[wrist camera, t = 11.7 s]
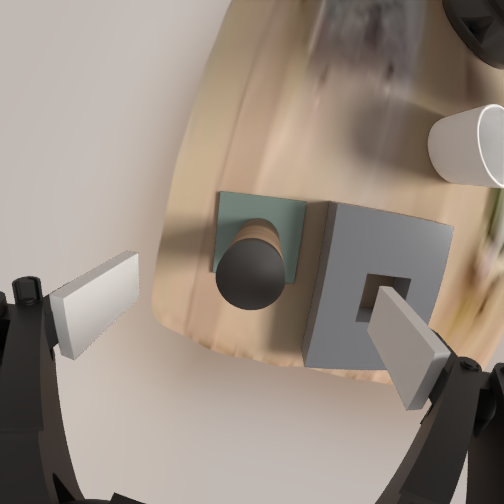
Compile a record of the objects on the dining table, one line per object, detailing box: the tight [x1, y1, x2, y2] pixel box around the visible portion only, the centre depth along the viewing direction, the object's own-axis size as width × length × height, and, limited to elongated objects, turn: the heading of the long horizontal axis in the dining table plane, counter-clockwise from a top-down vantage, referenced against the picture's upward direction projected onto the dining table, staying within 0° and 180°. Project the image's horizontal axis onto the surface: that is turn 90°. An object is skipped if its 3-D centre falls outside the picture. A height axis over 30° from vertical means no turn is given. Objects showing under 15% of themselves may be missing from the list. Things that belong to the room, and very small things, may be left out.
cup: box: [428, 104, 504, 189], centre depth 22 cm, size 8×12×10 cm
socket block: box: [301, 201, 454, 370], centre depth 30 cm, size 18×14×4 cm
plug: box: [216, 218, 285, 310], centre depth 25 cm, size 4×4×13 cm
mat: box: [213, 191, 306, 284], centre depth 31 cm, size 9×9×1 cm
